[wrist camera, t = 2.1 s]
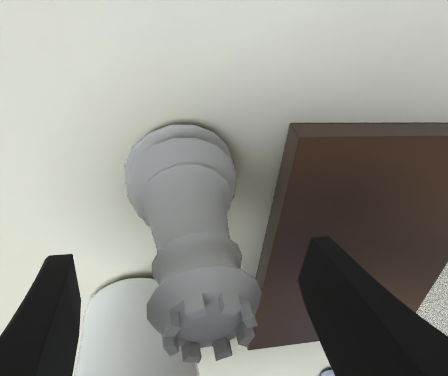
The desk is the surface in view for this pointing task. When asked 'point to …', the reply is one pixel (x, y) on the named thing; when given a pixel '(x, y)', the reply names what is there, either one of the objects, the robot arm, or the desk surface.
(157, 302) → the rook chess piece
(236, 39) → the desk surface
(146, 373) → the drinking glass
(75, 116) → the desk surface
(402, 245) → the walnut board
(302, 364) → the desk surface
